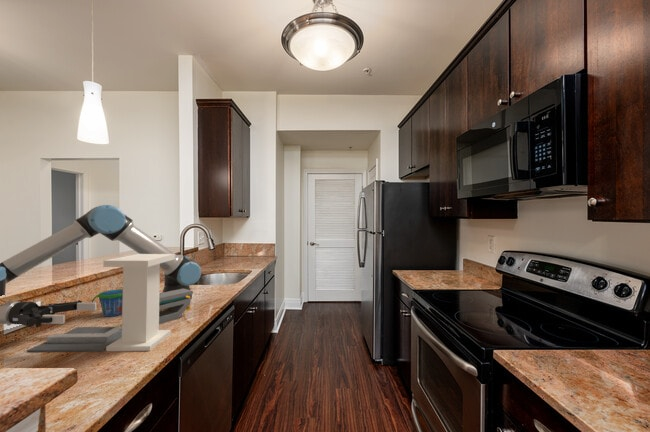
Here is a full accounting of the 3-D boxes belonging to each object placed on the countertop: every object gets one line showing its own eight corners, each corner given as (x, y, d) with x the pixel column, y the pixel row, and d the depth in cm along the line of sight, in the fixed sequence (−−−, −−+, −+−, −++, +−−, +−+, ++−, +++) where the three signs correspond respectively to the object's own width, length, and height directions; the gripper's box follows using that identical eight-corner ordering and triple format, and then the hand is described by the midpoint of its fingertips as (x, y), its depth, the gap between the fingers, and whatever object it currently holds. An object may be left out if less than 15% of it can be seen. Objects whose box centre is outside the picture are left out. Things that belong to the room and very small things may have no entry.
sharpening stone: (131, 332, 109) (131, 304, 109) (122, 328, 114) (122, 300, 114) (192, 314, 130) (192, 290, 130) (182, 311, 134) (183, 288, 135)
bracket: (46, 343, 98) (46, 337, 98) (71, 331, 108) (71, 326, 108) (106, 342, 99) (106, 336, 99) (125, 331, 109) (125, 325, 109)
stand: (101, 354, 92) (103, 260, 92) (136, 332, 110) (137, 253, 110) (146, 353, 92) (147, 260, 93) (173, 331, 110) (174, 254, 111)
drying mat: (26, 352, 93) (26, 350, 93) (77, 328, 113) (77, 327, 113) (103, 351, 94) (103, 349, 94) (140, 328, 114) (140, 326, 114)
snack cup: (87, 320, 122) (88, 296, 122) (95, 313, 131) (96, 290, 131) (131, 315, 128) (131, 293, 128) (135, 309, 138) (136, 287, 138)
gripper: (50, 312, 112) (106, 311, 113) (-25, 338, 87) (47, 337, 88) (51, 292, 112) (106, 292, 113) (-25, 313, 87) (48, 313, 88)
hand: (81, 312), depth 100 cm, fingers open, 13 cm apart
